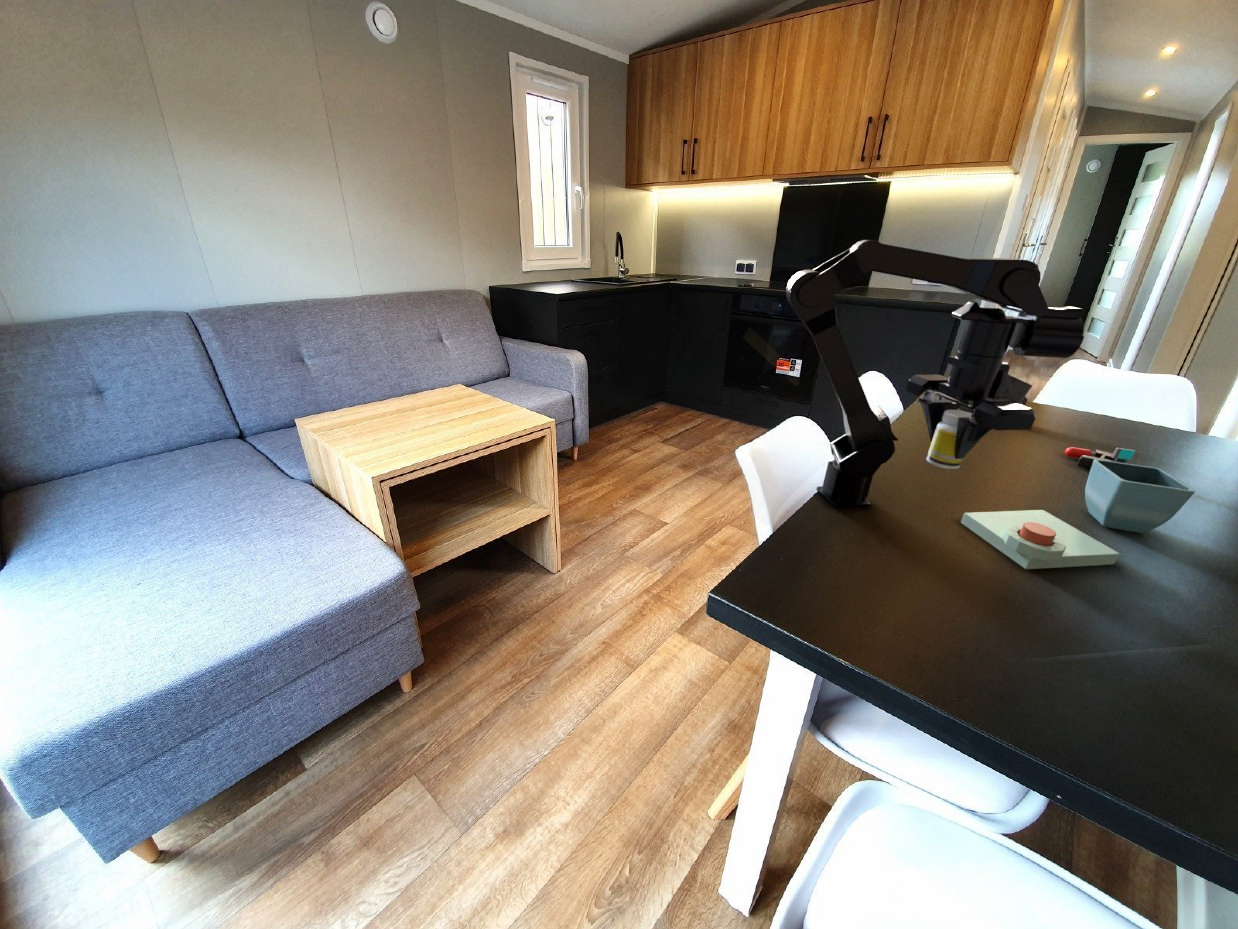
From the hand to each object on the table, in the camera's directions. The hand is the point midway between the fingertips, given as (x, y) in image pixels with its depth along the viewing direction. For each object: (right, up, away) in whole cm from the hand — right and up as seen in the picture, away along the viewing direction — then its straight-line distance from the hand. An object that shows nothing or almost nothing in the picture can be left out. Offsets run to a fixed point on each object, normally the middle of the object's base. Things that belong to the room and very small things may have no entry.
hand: (946, 452), depth 77 cm
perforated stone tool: (+43, +11, +50) cm, 67 cm away
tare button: (+6, -12, -9) cm, 17 cm away
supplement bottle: (0, -2, +1) cm, 2 cm away
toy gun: (+47, -2, +24) cm, 53 cm away
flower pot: (+29, -12, +2) cm, 31 cm away
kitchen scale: (+10, -14, -4) cm, 18 cm away
